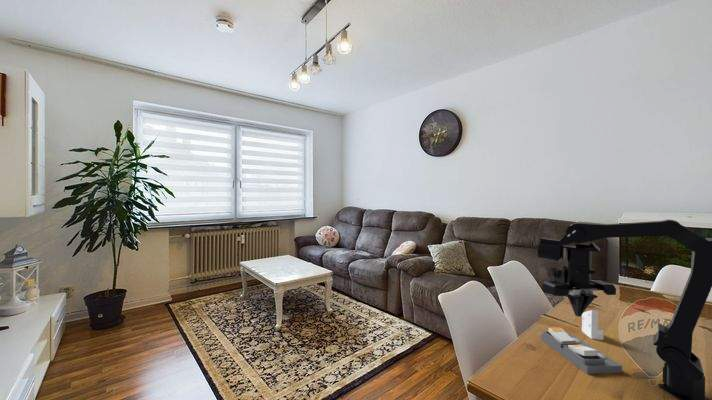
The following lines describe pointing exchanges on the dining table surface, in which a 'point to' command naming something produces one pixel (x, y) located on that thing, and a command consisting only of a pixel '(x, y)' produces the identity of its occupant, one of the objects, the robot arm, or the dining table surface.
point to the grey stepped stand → (583, 362)
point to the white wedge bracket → (592, 325)
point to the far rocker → (560, 335)
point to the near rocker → (583, 350)
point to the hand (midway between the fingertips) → (577, 316)
